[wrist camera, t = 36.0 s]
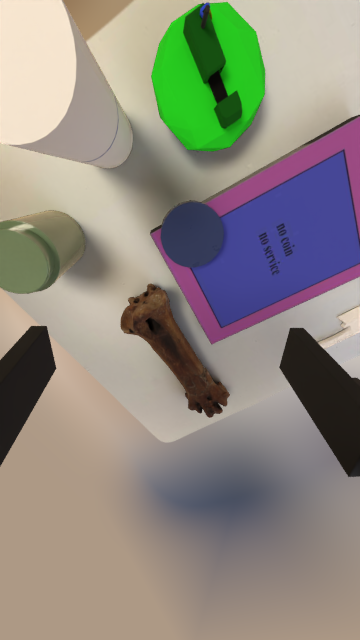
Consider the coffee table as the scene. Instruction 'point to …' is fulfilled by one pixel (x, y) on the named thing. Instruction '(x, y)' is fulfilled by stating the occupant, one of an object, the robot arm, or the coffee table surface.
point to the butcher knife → (354, 322)
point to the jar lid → (192, 234)
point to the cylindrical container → (56, 88)
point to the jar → (38, 250)
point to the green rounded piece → (209, 77)
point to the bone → (173, 349)
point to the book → (280, 236)
